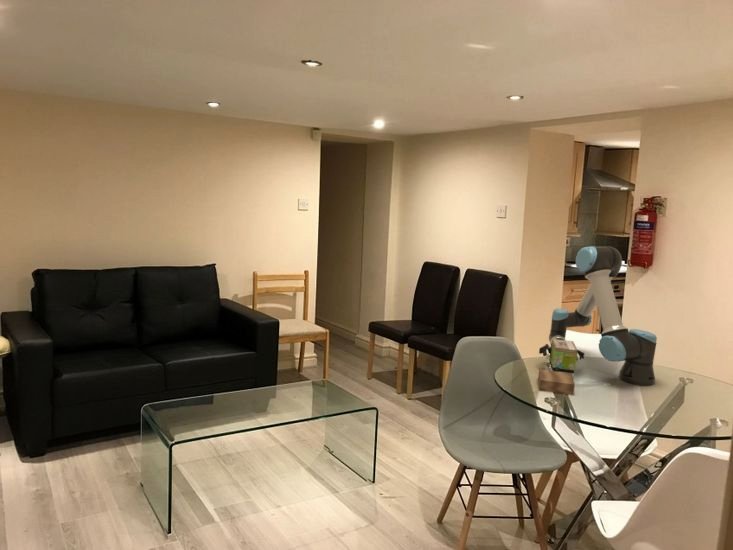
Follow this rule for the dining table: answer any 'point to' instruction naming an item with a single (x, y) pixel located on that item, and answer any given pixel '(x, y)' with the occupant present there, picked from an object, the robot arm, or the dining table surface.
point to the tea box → (563, 356)
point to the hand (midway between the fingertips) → (563, 358)
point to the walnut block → (556, 382)
